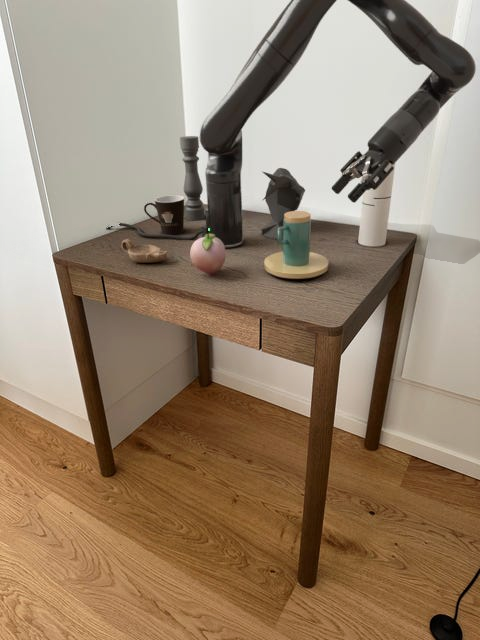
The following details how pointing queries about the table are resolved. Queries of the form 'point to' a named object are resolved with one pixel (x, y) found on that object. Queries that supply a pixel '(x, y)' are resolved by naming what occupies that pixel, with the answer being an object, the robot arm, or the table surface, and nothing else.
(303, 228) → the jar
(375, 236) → the cylindrical container
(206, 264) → the decorative fruit
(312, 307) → the table surface
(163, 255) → the oil lamp
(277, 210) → the narwhal figurine
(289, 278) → the turntable base
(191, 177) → the candle holder
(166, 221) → the coffee mug
